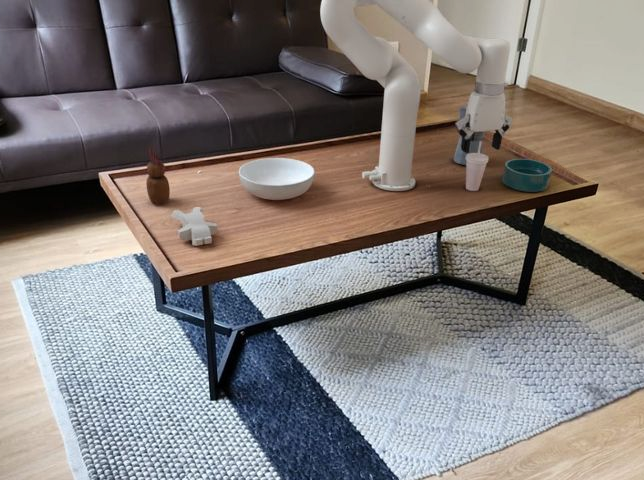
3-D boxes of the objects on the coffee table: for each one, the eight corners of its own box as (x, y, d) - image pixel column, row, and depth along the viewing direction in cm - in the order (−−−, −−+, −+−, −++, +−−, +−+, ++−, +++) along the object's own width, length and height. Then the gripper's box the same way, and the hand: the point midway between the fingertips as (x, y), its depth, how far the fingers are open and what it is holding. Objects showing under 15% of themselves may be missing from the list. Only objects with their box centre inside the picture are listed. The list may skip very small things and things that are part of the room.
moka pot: (480, 155, 211) (490, 93, 201) (485, 172, 198) (497, 108, 188) (451, 153, 212) (459, 92, 201) (454, 170, 199) (464, 106, 188)
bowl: (517, 195, 184) (521, 177, 181) (493, 178, 195) (496, 160, 192) (556, 190, 188) (561, 173, 185) (531, 174, 198) (534, 157, 195)
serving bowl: (322, 184, 187) (323, 161, 183) (301, 213, 169) (301, 189, 166) (255, 175, 191) (254, 153, 187) (227, 203, 174) (226, 179, 170)
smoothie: (486, 187, 188) (494, 141, 181) (478, 194, 184) (486, 147, 176) (465, 182, 191) (473, 136, 184) (457, 189, 186) (464, 142, 179)
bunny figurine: (183, 236, 148) (166, 204, 158) (184, 254, 151) (168, 222, 161) (222, 229, 151) (204, 198, 162) (223, 247, 155) (204, 216, 165)
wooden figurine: (146, 198, 175) (140, 145, 167) (168, 195, 177) (162, 142, 169) (150, 208, 170) (143, 153, 162) (172, 205, 171) (167, 151, 163)
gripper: (510, 82, 177) (500, 142, 186) (453, 87, 173) (446, 148, 182) (525, 89, 171) (514, 151, 180) (467, 94, 167) (459, 157, 176)
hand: (480, 149), depth 181 cm, fingers open, 9 cm apart
